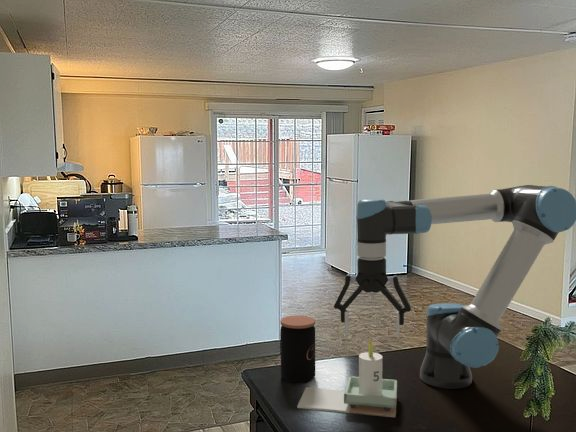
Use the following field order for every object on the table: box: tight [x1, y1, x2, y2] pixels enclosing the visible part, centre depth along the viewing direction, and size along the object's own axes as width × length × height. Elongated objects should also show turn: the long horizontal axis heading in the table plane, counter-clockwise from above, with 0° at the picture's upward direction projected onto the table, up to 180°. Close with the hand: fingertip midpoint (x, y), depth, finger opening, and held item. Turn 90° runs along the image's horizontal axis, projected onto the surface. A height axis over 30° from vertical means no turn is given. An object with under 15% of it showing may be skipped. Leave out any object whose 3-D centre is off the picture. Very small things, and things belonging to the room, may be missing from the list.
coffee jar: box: [280, 315, 316, 384], centre depth 166 cm, size 11×11×18 cm
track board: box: [297, 386, 398, 418], centre depth 149 cm, size 26×13×1 cm, turn 77°
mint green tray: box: [344, 375, 398, 411], centre depth 148 cm, size 13×12×4 cm
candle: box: [358, 338, 383, 396], centre depth 147 cm, size 6×6×15 cm
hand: (372, 335), depth 146 cm, fingers open, 13 cm apart
